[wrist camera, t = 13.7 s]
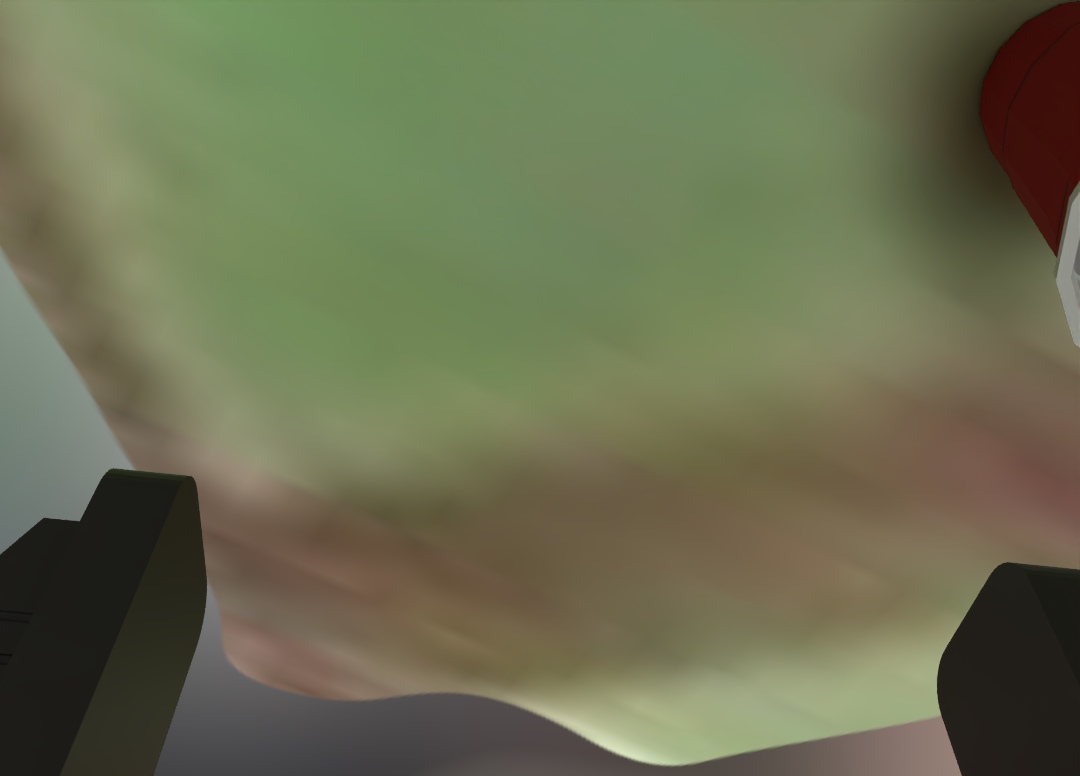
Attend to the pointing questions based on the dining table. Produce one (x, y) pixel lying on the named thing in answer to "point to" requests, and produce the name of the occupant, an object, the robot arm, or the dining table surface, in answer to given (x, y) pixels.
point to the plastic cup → (1042, 135)
